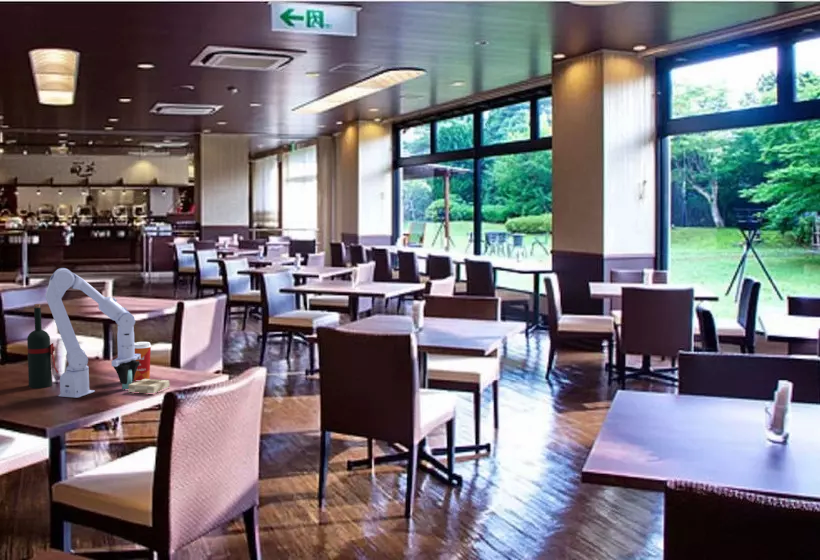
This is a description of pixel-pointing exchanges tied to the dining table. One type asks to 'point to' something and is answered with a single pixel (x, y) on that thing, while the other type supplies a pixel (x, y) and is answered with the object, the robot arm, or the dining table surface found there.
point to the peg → (128, 380)
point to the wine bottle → (39, 354)
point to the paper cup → (143, 360)
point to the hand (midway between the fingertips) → (127, 382)
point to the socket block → (148, 386)
